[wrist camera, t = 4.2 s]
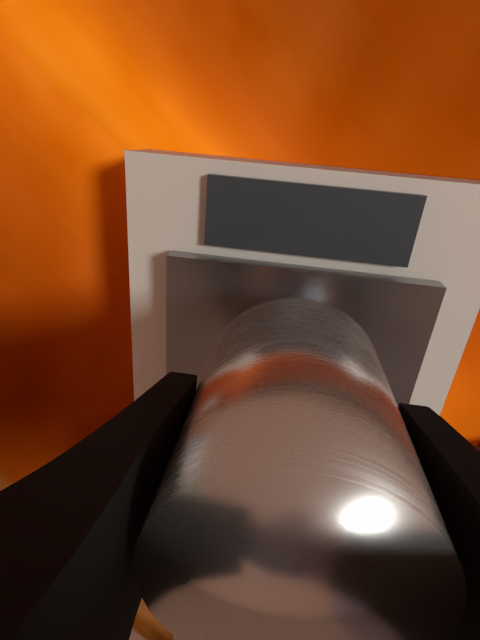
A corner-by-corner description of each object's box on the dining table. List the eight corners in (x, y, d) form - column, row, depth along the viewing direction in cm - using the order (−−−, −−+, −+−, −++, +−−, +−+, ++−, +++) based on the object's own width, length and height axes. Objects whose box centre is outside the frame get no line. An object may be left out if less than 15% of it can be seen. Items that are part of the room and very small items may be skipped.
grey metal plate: (359, 533, 16) (362, 547, 16) (169, 502, 17) (165, 515, 16) (439, 281, 11) (446, 287, 11) (172, 250, 12) (166, 255, 11)
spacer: (404, 319, 9) (534, 524, 4) (349, 457, 11) (395, 710, 6) (223, 281, 9) (144, 434, 4) (199, 423, 11) (125, 643, 6)
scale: (382, 496, 18) (395, 545, 16) (153, 460, 19) (135, 503, 17) (486, 181, 12) (530, 189, 10) (149, 149, 13) (120, 150, 11)
